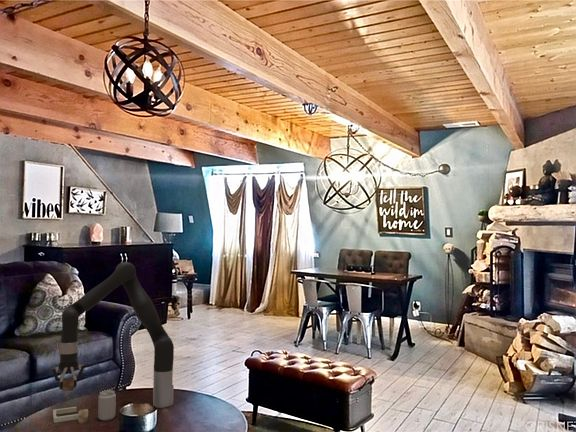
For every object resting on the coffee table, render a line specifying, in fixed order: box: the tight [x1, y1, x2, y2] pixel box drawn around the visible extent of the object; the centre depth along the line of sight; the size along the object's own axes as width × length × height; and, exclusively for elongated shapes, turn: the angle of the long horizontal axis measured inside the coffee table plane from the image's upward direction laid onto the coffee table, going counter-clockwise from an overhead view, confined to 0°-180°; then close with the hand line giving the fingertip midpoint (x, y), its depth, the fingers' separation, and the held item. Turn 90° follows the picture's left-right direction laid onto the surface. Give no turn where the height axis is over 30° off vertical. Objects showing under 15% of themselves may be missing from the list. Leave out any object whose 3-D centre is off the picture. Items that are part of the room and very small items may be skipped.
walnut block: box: [62, 377, 75, 392], centre depth 224 cm, size 4×4×4 cm
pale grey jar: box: [97, 389, 117, 422], centre depth 223 cm, size 8×8×12 cm
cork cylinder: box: [77, 408, 89, 425], centre depth 218 cm, size 4×4×5 cm
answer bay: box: [52, 406, 79, 424], centre depth 224 cm, size 10×11×2 cm
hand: (67, 388), depth 224 cm, fingers closed on walnut block, 4 cm apart
